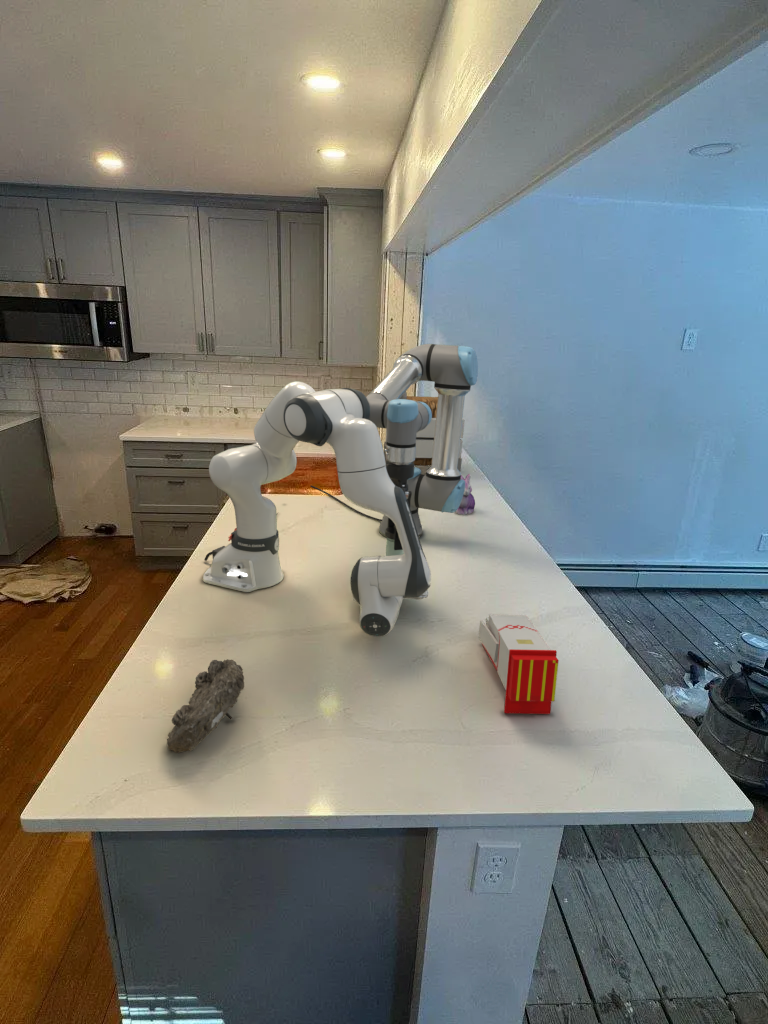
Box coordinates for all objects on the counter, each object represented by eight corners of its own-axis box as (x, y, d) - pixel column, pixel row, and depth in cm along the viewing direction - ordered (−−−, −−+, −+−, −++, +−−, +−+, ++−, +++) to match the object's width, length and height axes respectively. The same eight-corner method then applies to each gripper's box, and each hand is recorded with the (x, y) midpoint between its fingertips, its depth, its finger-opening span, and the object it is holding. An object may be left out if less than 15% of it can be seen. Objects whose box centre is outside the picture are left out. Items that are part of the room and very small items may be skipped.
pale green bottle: (387, 588, 161) (390, 529, 155) (404, 591, 159) (407, 532, 153) (381, 595, 156) (384, 535, 150) (398, 599, 155) (402, 538, 149)
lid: (386, 531, 155) (386, 525, 154) (407, 532, 155) (407, 526, 154) (384, 539, 149) (384, 533, 149) (406, 540, 149) (406, 534, 149)
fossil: (192, 660, 117) (244, 628, 112) (224, 691, 120) (276, 661, 115) (142, 746, 98) (202, 712, 93) (182, 779, 101) (242, 748, 96)
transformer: (382, 463, 289) (386, 382, 275) (445, 464, 293) (451, 384, 279) (390, 482, 257) (394, 392, 243) (460, 483, 261) (468, 394, 247)
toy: (524, 600, 137) (567, 656, 108) (520, 651, 140) (560, 720, 111) (474, 599, 137) (504, 655, 107) (471, 650, 140) (498, 719, 110)
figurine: (461, 516, 219) (465, 479, 214) (447, 508, 227) (450, 472, 222) (481, 513, 223) (485, 477, 218) (466, 505, 231) (469, 470, 226)
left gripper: (427, 587, 141) (432, 564, 154) (347, 578, 144) (359, 556, 157) (426, 609, 143) (431, 585, 156) (347, 600, 146) (358, 577, 159)
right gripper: (375, 452, 152) (372, 532, 160) (397, 471, 136) (392, 560, 143) (402, 452, 155) (398, 531, 162) (426, 470, 138) (420, 557, 146)
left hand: (394, 570), depth 157 cm, fingers closed on pale green bottle, 5 cm apart
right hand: (395, 544), depth 153 cm, fingers closed on lid, 6 cm apart
